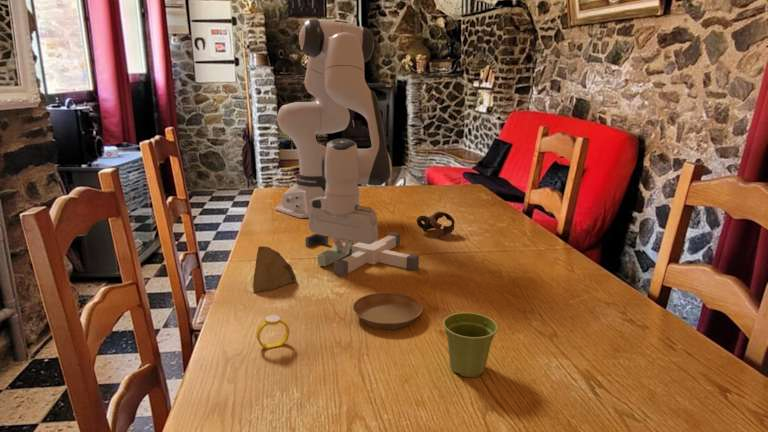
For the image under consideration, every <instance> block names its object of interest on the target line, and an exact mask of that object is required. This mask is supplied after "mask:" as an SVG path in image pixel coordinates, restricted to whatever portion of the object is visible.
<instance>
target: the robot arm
mask: <svg viewBox="0 0 768 432" xmlns="http://www.w3.org/2000/svg"><path fill="white" fill-rule="evenodd" d="M298 43H299V46H300V47H299V48H300V51H301V52H302V53H303V54H304V55H305V56H308V60H307V66H306V70H305V76H304V81H303V83H304V88H305V89H306V91H307V92H308V94H310V95H311V96H312V97H315V98H316V99H315V100H314V101H295V102H291V103H286V104H284V105H281V107H280V108H279V110H278V112H277V117H276V121H277V125H278V128H279V129H280V130H281V132H283V134H285V135H286V136H287V137H289V138H290V139H291V140H292V142H293V143H294V146H295V148H296V150H297V154H298V165H299V172H298V174H295V175H293V176H294V177H293V179H296V181H295V183H294V184H293V185H292V186H290V187H289V188H288V189H287V190H286V191H285V192H283V195H282V199H281V204H279V205H277V206H275V211H278V212H279V213H283V214H286V215H290V216H293V217H296V218H300V219H304V218H305V219H306V218H308V230H310V232H311V233H313V234H321V235H325V236H328V237H332V242H333V244H334V246H336V247H337V253H340V254H344V255H347V254H349V247H350V246H351V244H352V242H353V243H354V242H356V243H358V242H360V243H365V244H372V243H374V242H375V241H378V238H379V227H378V215H377V212H376V211H375V210H374V209H373V208H372V207H368V206H367V207H366V206H362V205H360V188H359V185H368V186H382V185H384V184H385V183H387V181H388V180H389V179H390V178H391V176H392V175H391V174H392V171H393V169H392V160H391V156H390V154H389V152H388V147H387V142H386V141H387V140H386V136H385V135H386V134H385V131H384V124H383V119H382V113H381V110H380V109H381V108H380V104H379V100H378V96H377V94H376V92H375V90H374V91H373V90H372V89H370V88H369V86H368V84H367V81H366V79H365V63H367V62H368V61H369V60H370V59H371V57H372V55H373V52H374V48H375V36H374V34H373V33H372V31H371V29H369V28H367V27H365V26H362V25H360V26H358V25H355V24H351V23H349V22H348V23H347V22H342V21H331V20H319V19H307V20H306V21H304V22H303V24H302V26H301V29H300V30H299V34H298ZM350 110H352V111H354V112H356V113H358V114H360V115H361V116H362V117H364V118H365V120H366V122H367V127H368V131H369V133H368V134H369V137H370V142H371V145H370V146H371V147H368V148H358V146H357V145H358V144H357V143H356V142H355V141H354V140H352V139H349V138H336V139H332V140H329V141H328V142H327V143H326V146H325V145H323V144H321V143H318V141H317V136H316V135H322V134H324V135H325V134H334V133H338V132H341V131H344V130H346V129H347V128H348V127H349V126H348V125H349V123H350V119H351V114H350ZM342 240H343V242H342ZM342 243H346V244H345V246H342ZM349 255H350V254H349ZM347 256H348V255H347Z"/></svg>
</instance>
